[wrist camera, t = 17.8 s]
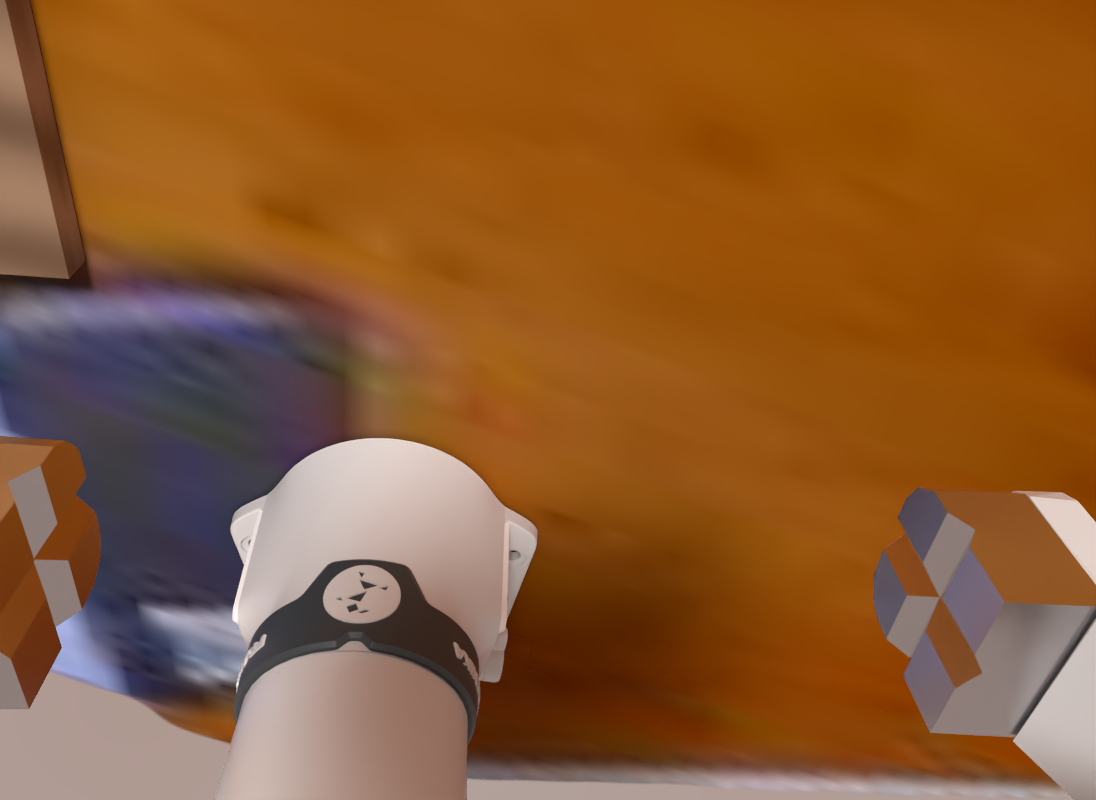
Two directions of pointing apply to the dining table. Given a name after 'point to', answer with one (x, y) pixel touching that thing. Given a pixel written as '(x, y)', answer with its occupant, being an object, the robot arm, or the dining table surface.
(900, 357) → the dining table surface
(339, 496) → the robot arm
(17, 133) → the shelf
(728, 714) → the dining table surface
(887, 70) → the dining table surface
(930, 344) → the dining table surface
